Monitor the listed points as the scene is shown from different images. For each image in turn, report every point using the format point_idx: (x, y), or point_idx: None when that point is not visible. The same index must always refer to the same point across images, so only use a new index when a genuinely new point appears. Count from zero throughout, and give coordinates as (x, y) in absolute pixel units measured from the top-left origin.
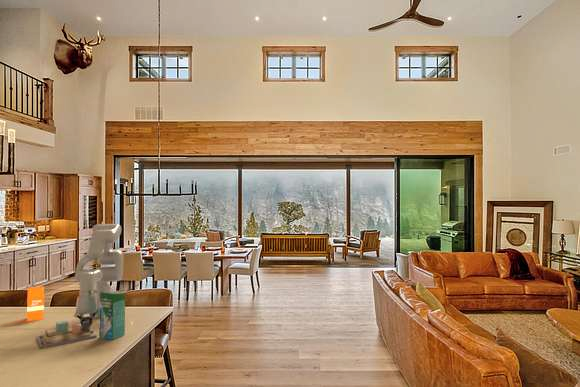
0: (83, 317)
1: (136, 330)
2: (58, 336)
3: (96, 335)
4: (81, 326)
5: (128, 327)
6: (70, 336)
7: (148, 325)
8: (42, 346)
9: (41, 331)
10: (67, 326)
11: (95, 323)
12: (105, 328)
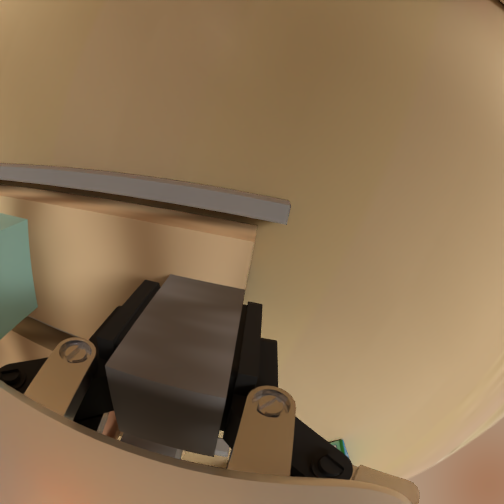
0: (113, 383)
1: (427, 454)
2: (6, 345)
3: (226, 454)
4: (165, 230)
5: (461, 401)
6: None
7: (499, 415)
8: None
9: (4, 13)
10: (2, 334)
11: (416, 60)
12: None
